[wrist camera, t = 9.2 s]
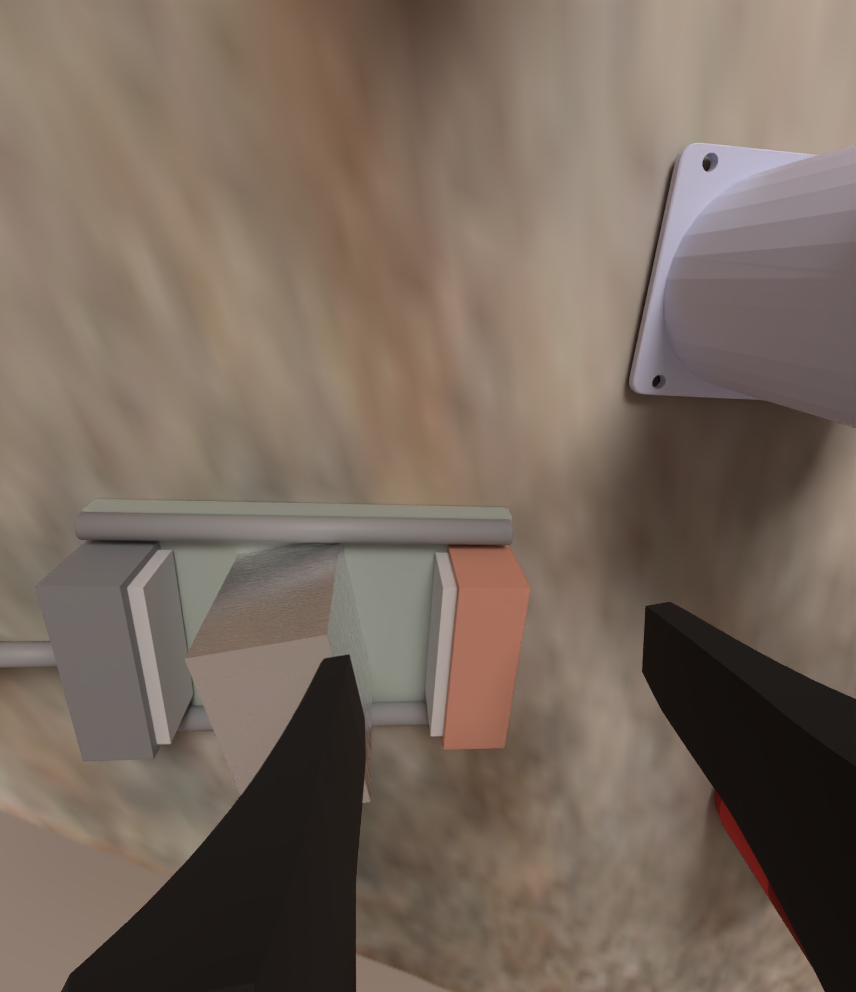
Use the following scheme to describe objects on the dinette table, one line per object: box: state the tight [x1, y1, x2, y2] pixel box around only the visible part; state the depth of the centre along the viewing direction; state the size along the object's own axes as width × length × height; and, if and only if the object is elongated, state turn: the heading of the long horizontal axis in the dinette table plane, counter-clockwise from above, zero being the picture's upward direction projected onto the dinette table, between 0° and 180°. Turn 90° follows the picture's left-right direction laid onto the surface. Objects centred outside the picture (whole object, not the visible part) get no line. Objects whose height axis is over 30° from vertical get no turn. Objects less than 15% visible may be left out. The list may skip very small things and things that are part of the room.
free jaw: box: [425, 545, 530, 750], centre depth 20 cm, size 3×8×3 cm, turn 177°
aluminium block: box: [184, 543, 372, 803], centre depth 18 cm, size 4×7×6 cm, turn 8°
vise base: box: [0, 499, 513, 761], centre depth 20 cm, size 22×10×4 cm, turn 87°
